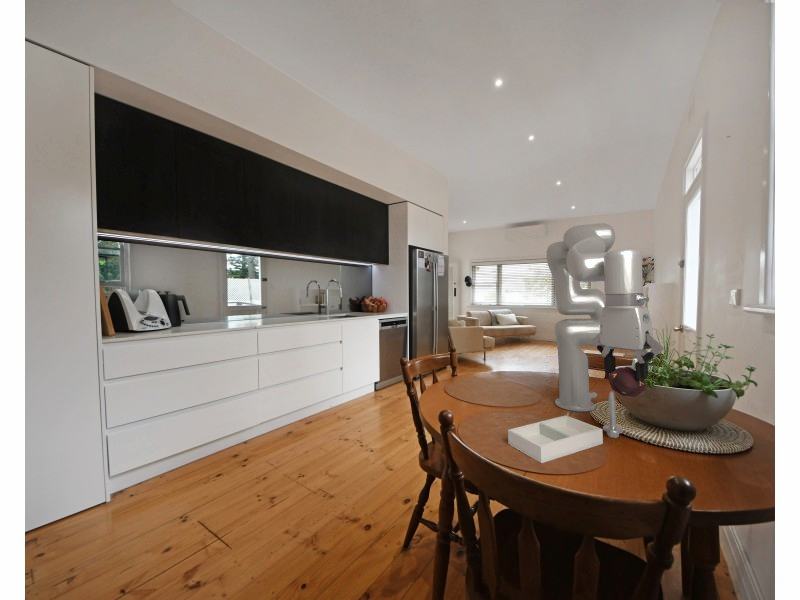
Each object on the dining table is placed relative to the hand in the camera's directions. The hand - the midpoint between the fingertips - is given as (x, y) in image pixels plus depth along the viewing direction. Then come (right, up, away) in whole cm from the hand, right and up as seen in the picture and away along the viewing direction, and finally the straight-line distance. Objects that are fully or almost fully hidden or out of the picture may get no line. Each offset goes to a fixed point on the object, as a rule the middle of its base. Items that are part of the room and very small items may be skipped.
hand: (625, 375), depth 78 cm
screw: (+7, -21, +15) cm, 27 cm away
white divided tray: (-11, -22, +11) cm, 27 cm away
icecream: (+1, -5, 0) cm, 5 cm away
